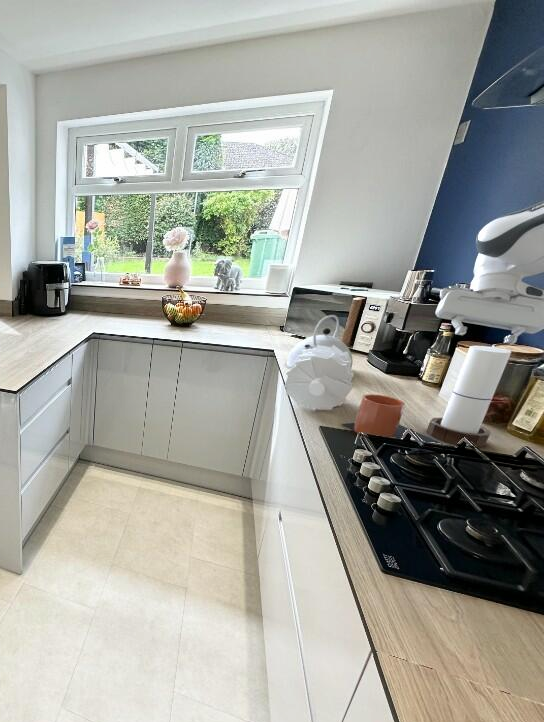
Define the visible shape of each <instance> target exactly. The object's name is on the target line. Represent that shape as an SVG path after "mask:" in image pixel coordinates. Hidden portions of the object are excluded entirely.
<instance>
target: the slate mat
mask: <svg viewBox="0 0 544 722" xmlns="http://www.w3.org/2000/svg"><path fill="white" fill-rule="evenodd" d="M354 424H355V422H346V423H342V424H341V425H342V426H343V427H346V428H347V429H350V430H351V431H354ZM407 429H409V428H408V427H406V426H403V425H402V424H400V423H399V424H398V427H397V430H396V433H395V436H394V437H396V438H399V439H400V438H402V436H403V433H404V432H405V430H407ZM413 431H414V432H416V434H417V435H418V436H419V437H420V438H421V439H422V440H423V441H425V442H435V443H441V444H444V443H443V442H442V441H438V440H436V439H435V438H434V439H433V438H432V437H429V436H427V435H424V434H422V433H421V432H418V431H415V430H413ZM354 432H355V431H354Z"/></svg>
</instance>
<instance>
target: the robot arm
mask: <svg viewBox="0 0 544 722" xmlns="http://www.w3.org/2000/svg"><path fill="white" fill-rule="evenodd" d="M475 247H476V251H477V256H476V260H475V262H474V267H473V279H472V280H471V282H470V286H469V288H467V287H457V286H453V285H451V286H450V285H449V286H447V287H444V288H442V289H441V290H440V293H439V298H440V301H439V302H438V305H437V307H436V309H435V315H436V317H437V318H439V319H444V320H449V321H451V322H450V323H451V324H452V326H453V328H454V329H455V331H454V334H455V335H459V336H464V335H465V334H466V333H467V330H468V326H466V325H465V326H464V324H463V323H467V324H474V325H479V326H485V327H490V328H497V329H503V330H508V331H511V334H508V335H506V336H505V337H504V338H503V344H507V345H513V344H515V343H517V341H518V337H519V336H520V335H522V334H523V333H525V334H532V335H533V334H536V333H539V332H541V331H542V330H544V289H541V288H538V287H536V286H534V285H530V284H528V283H526V282H524V281H523V279H524V278H528V277H529V278H530V277H535V276H539V275H541V274H544V200H542V201H539V202H537V203H534V204H532V205H530V206H528V207H525V208H522V209H519V210H516V211H512V212H509V213H506V214H503V215H500V216H498V217H496V218H494V219H492V220H490V221H489V222H488V223H486V224H485V225H483V226H482V227H481V228H480V229H479V231H478V233H477V235H476V238H475Z"/></svg>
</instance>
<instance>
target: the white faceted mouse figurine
mask: <svg viewBox="0 0 544 722" xmlns="http://www.w3.org/2000/svg"><path fill="white" fill-rule="evenodd" d="M302 353H303V354H302V355H300V356H298V358H297V359H296V360H295V361H294V364H293V365H291V366H290V367H289V370H288V371H286V372H285V374H286V375H287V378H286V381H285V383H284V385H283V388H285V392H286V393H285V394H286V396H289V397H290V398H291V399H292V400H293V401H294V403H295V404H296V405H297V406H302V407H305V408H307V409H309V410H311V411H313V412H315V411H316V410H325V411H327V410H330V411H331V410H333V409H334V408H335V407H334V406H336V405H339V404H341V403H342V404H343V403H346V402H348V401H347V399H346V398H347V396H348V395H349V394H350V393H351V391H352V390H353V388H354V387H353V385H354V383H352V382H351V381H352V379H353V377H354V376H355V375H354V374H355V371H353V370H351V371H350V364H349V363H351V360H350V356H349V353H348V352H342V351H341V350H340V349H338V348H337V347H336V346H335V345H333V346H332V347H326V346H321V345H317V346H316V348H312V349H308V350H304V351H302ZM336 407H337V406H336Z"/></svg>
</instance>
